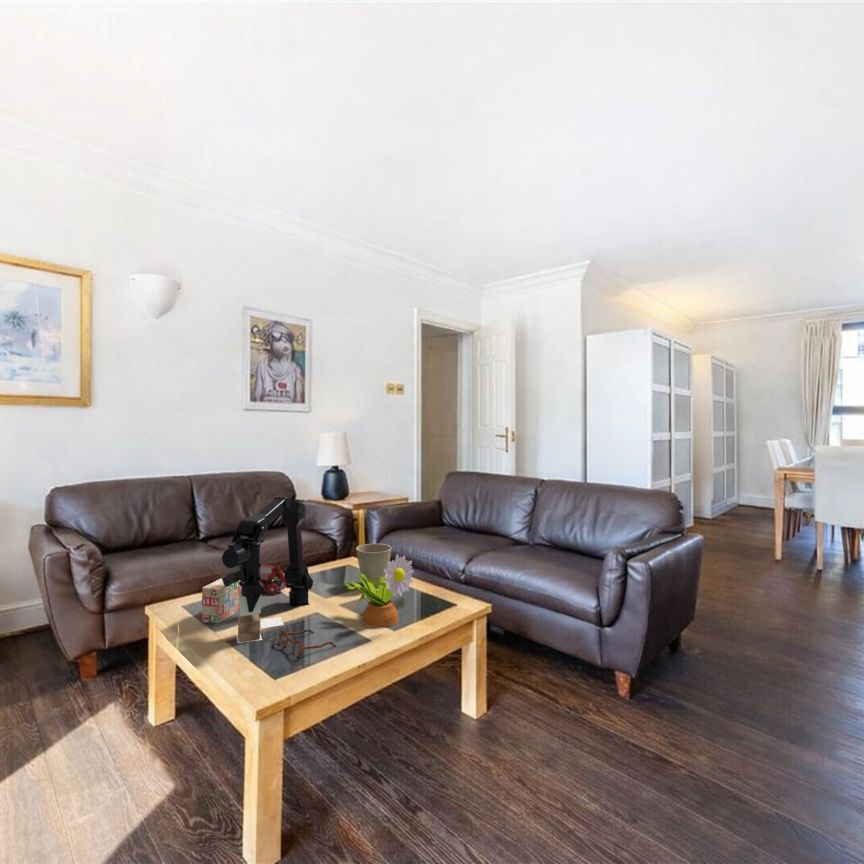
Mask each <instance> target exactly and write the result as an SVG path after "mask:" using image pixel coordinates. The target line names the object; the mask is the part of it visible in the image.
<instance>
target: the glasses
mask: <svg viewBox="0 0 864 864" xmlns="http://www.w3.org/2000/svg"><path fill="white" fill-rule="evenodd" d="M308 632H309V633H310V634H314V633H315V632H314V631H313V630H311V629H310V628H309V629H304V630H301V631H297V632H296V631H295V632H287V631H286V630H283V631H281V633H280V634H279V637H278V638H279V639H278V641H279V642H278V643H279V645H280V646H282V647H284V648H287V646H288V645H289V644H288V643H289V642H290V643H292V644H293V648H292V653H293V655H294V656H296V657H297V658H301V657H302V655H303V651H304V650H311V649H320V648H322V647H324V646H327V645H331V646H332V647H334V648H336V647H337V645H336V644H335V643H333V641H326V642H324V643H322V644H320V645H310V646H303V643H302V641H301V640H299V639H298V640H295V641H294V640H293V639H292V638H290V637H289V636H294V635H302V634H304V633H308ZM283 636H285V638H286V641H285V643H284V644H283V643H282V638H283ZM297 644H299V645H300V652H299V654H297V653H296V646H297Z"/></svg>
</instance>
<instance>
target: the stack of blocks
mask: <svg viewBox="0 0 864 864" xmlns="http://www.w3.org/2000/svg"><path fill="white" fill-rule="evenodd" d="M239 581H240V580H239ZM239 581H237V582H235V583H233V584H231V585H230V586H228V587H225V586H224V583H223V581H222V578H221V577H220V578H219V579H217V580H215V581H213V582H211V583H209V584H206V585H205V586H202V588H201V589H202V592H201V593H202V595H201V622H202V623H203V622H204V623H213V624H217V625H218V624H220V623H221V622H222V621H224V620H226V619H228V618H229V617H231V616H232V615H234V614H235V613H237V612H239V591H240V590H241V586H240V585H239Z"/></svg>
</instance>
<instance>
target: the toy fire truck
mask: <svg viewBox="0 0 864 864" xmlns="http://www.w3.org/2000/svg"><path fill="white" fill-rule="evenodd" d="M260 576H261V580H258V581H260V582H261V583H262V584H263V586H264V593H265V592H268V594H270V595H276V594H277V593H278V592H279V591H280V590H285V589H287V588H286V583H285V580H284V578H285V575H284V571H283V570H282V569H281V567H280V566H279V565H276V566H273V565H264V564H261V567H260Z"/></svg>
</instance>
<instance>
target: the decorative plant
mask: <svg viewBox="0 0 864 864" xmlns="http://www.w3.org/2000/svg"><path fill="white" fill-rule="evenodd" d="M412 563H413V561H412V560H408V559H406V555H404V554H403V556H399V554H398V553H397V554H396V556H395V560H394V559H392V560H391V561H388V566H387V569H384V573H385V574H386V575H385V577H382V575H381V579H380V582H378V581H374V580H367V578H366V577H365V575H364V574H361V573H359V576H357V577H356V576H355V578H357V580H359V581H361V583H362V584H363V586H362V585H361V584H360V583H357V582H352V581H351V582H349V583H346V584H344V583H342V586H347V589H348V590H355V589H358V590H359V592H361V595H360V596H359V600H358V601H357V603H358V604H359V603H361V602H362V601H364V600H365V599H366V598H367V599H368V601H369V602H368V603H367V606H366V607H365V609H364V610H363V613H362V617H361V623H362V622H363V623H364V624H363V623H362V624H363V625H365V626H367V625H368V626H367V627H370V626H371V628H376V627H384V628H387V627H386V626H390V627H392V626H391V625H393V624H395V623H397V622H398V620H399V621H400V618H399V612H398V610H397V608H396V607H395V606H394V602H393V601H392V600H391V599H392V598H393V597H397V595H399V596H400V597H402V596H403V593H405V592H409V590H410V589H409V587H410V586H411V585H410V584H413V582H414V581H413V579H412V577H413V575H412V574H413V573H414V572H415V571H414V569H413V566H412ZM362 577H363V578H364V579H366V581H367V582H366V581H365V580H364V579H363V578H362ZM372 583H373V584H377V585H379V586H378V587H374V585H373V584H372ZM365 597H366V598H365ZM398 623H399V622H398ZM398 623H397V624H398ZM393 626H394V625H393Z"/></svg>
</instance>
